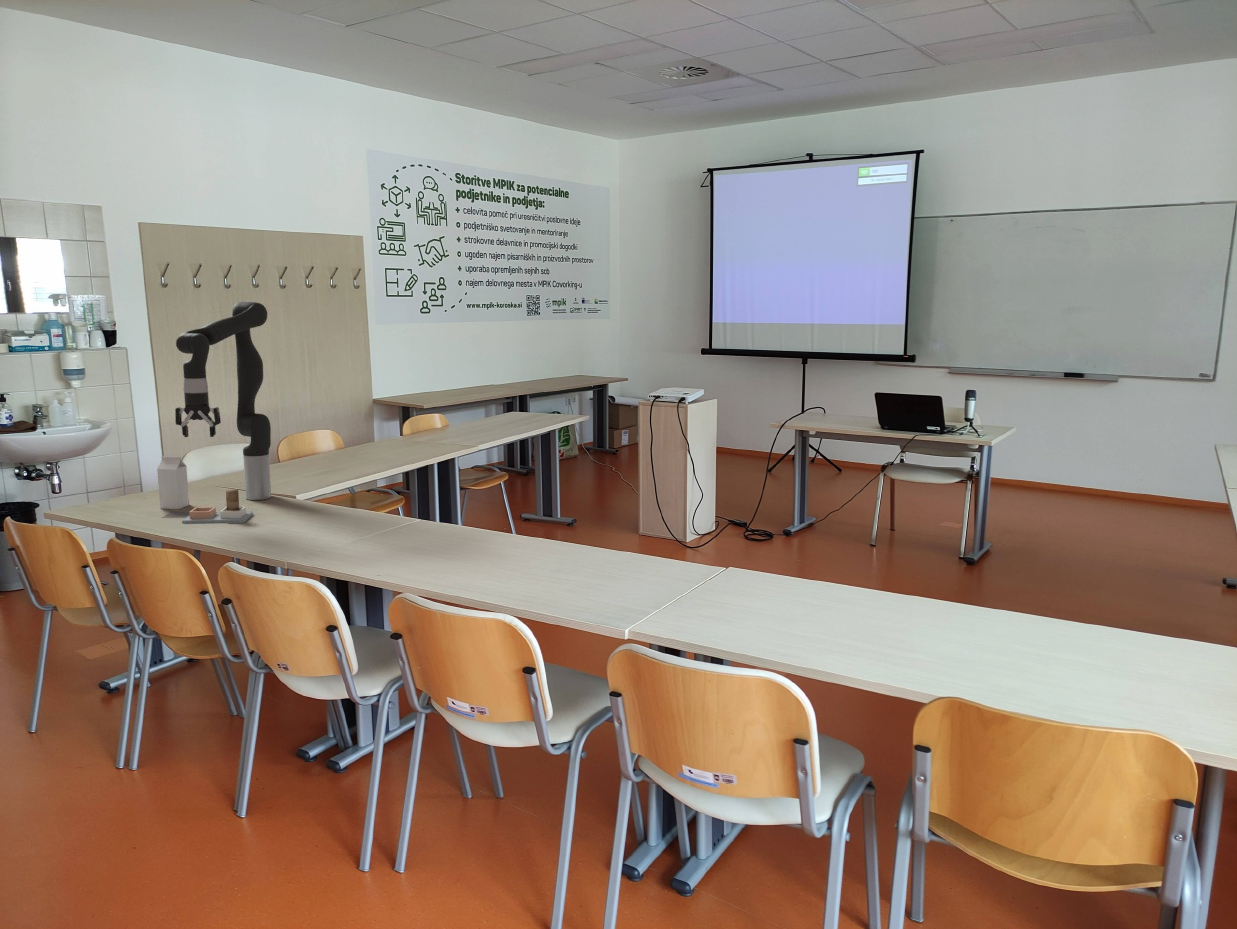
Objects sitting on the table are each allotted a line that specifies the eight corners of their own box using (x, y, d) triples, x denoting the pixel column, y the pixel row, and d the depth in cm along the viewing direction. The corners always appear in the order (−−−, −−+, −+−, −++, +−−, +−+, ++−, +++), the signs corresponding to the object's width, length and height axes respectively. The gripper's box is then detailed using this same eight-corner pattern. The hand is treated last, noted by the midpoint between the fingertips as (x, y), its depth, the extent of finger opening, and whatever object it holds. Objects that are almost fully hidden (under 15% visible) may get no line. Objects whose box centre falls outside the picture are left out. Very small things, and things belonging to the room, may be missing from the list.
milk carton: (179, 509, 311) (175, 458, 307) (160, 509, 311) (156, 458, 307) (189, 505, 318) (185, 455, 314) (170, 504, 318) (166, 454, 314)
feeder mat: (171, 512, 306) (170, 511, 306) (197, 512, 308) (197, 511, 308) (161, 518, 298) (161, 517, 297) (189, 518, 299) (189, 517, 299)
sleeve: (228, 514, 300) (227, 489, 299) (240, 514, 301) (239, 489, 299) (225, 517, 296) (224, 491, 295) (237, 516, 297) (236, 491, 295)
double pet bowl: (193, 515, 302) (193, 505, 302) (253, 514, 305) (252, 504, 305) (182, 524, 291) (181, 513, 290) (243, 522, 294) (243, 512, 293)
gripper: (220, 390, 302) (223, 435, 304) (178, 389, 299) (181, 435, 302) (214, 392, 294) (217, 438, 297) (170, 391, 292) (173, 438, 295)
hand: (199, 436), depth 300 cm, fingers open, 8 cm apart
